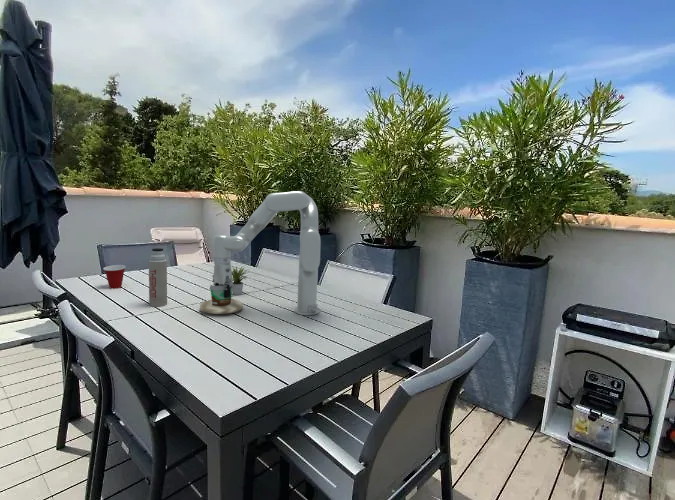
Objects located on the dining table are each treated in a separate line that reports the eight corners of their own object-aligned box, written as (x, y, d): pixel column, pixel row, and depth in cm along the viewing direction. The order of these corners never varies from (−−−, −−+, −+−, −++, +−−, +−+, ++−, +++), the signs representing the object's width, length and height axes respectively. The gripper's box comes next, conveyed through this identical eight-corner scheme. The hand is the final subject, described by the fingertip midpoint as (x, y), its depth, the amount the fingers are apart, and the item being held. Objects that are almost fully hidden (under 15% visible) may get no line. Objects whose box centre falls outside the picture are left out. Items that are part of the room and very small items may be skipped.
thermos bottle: (156, 307, 174) (155, 250, 170) (145, 304, 178) (144, 248, 174) (170, 304, 181) (170, 248, 177) (160, 301, 185) (159, 247, 181)
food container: (217, 308, 168) (217, 287, 167) (209, 305, 172) (209, 285, 171) (238, 303, 178) (239, 283, 177) (230, 300, 182) (231, 281, 181)
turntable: (236, 302, 190) (236, 285, 189) (248, 313, 173) (248, 295, 172) (196, 306, 179) (196, 289, 178) (204, 318, 163) (204, 299, 161)
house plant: (246, 298, 198) (246, 269, 196) (220, 296, 199) (221, 267, 196) (252, 291, 213) (253, 264, 210) (229, 290, 213) (229, 263, 210)
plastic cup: (99, 288, 202) (98, 267, 200) (116, 284, 212) (115, 264, 210) (114, 290, 198) (113, 269, 197) (130, 286, 209) (130, 266, 207)
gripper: (239, 262, 170) (238, 298, 172) (220, 257, 181) (220, 290, 184) (224, 264, 164) (224, 300, 167) (206, 258, 176) (206, 292, 178)
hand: (222, 295), depth 175 cm, fingers open, 9 cm apart
